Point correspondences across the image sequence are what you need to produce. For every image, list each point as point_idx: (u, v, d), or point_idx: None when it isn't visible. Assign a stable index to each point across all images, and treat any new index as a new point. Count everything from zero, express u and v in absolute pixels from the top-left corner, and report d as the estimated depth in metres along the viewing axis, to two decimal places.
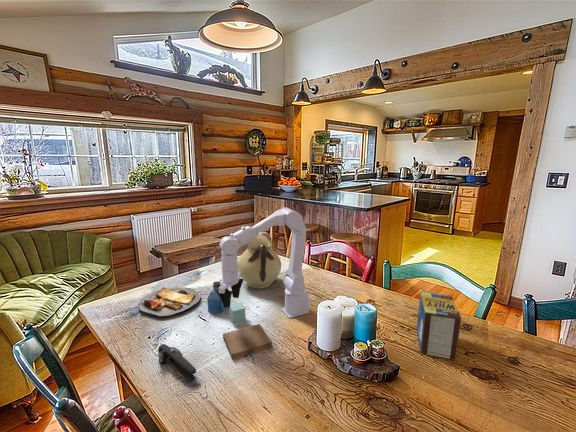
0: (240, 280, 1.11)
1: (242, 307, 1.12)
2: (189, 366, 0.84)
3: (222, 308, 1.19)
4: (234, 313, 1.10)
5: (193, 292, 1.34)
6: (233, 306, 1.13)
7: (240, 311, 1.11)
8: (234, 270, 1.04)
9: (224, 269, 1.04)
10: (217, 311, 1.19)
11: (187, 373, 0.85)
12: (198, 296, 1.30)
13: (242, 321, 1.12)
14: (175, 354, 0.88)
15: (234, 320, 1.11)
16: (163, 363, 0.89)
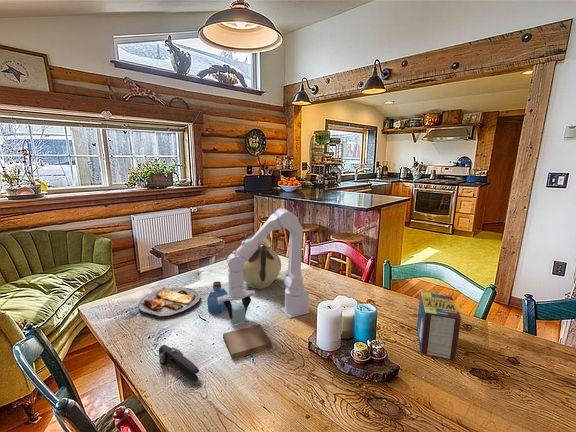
0: (249, 299, 1.13)
1: (242, 307, 1.12)
2: (192, 366, 0.84)
3: (222, 308, 1.19)
4: (234, 313, 1.10)
5: (193, 292, 1.34)
6: (233, 306, 1.13)
7: (240, 311, 1.11)
8: (234, 287, 1.08)
9: (230, 285, 1.09)
10: (217, 311, 1.19)
11: (190, 373, 0.85)
12: (198, 296, 1.30)
13: (242, 321, 1.12)
14: (177, 354, 0.88)
15: (234, 320, 1.11)
16: (164, 364, 0.89)
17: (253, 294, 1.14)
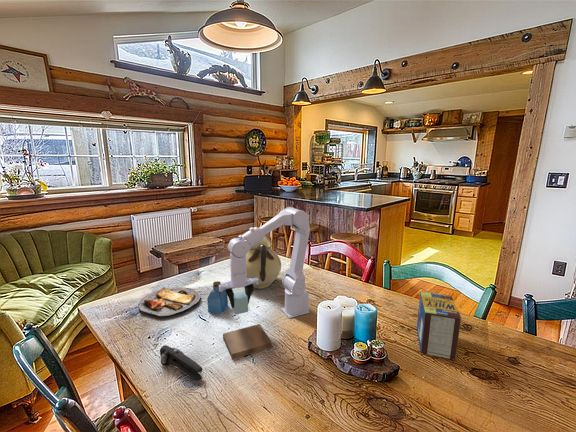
0: (252, 287, 1.06)
1: (244, 296, 1.06)
2: (195, 365, 0.85)
3: (222, 308, 1.19)
4: (236, 302, 1.04)
5: (193, 292, 1.34)
6: (235, 295, 1.07)
7: (243, 300, 1.05)
8: (236, 273, 1.02)
9: (234, 272, 1.02)
10: (217, 311, 1.19)
11: (193, 372, 0.85)
12: (198, 296, 1.30)
13: (244, 310, 1.06)
14: (179, 354, 0.88)
15: (236, 309, 1.05)
16: (166, 364, 0.89)
17: (256, 282, 1.08)
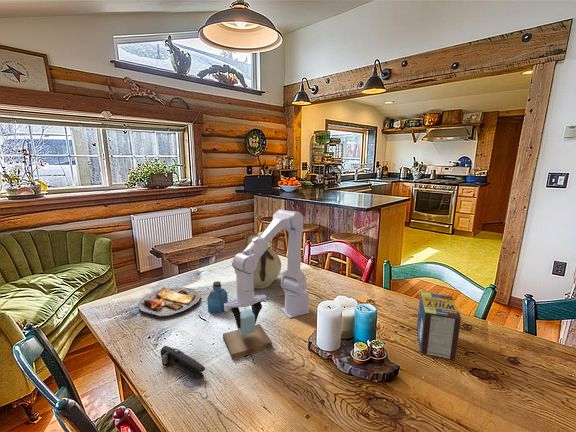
0: (260, 305, 0.98)
1: (251, 314, 0.98)
2: (197, 364, 0.85)
3: (222, 308, 1.19)
4: (242, 322, 0.96)
5: (193, 292, 1.34)
6: (241, 313, 0.99)
7: (250, 319, 0.97)
8: (243, 291, 0.93)
9: (243, 290, 0.93)
10: (217, 311, 1.19)
11: (195, 371, 0.85)
12: (198, 296, 1.30)
13: (251, 331, 0.98)
14: (180, 354, 0.88)
15: (242, 330, 0.96)
16: (167, 365, 0.89)
17: (264, 299, 0.99)
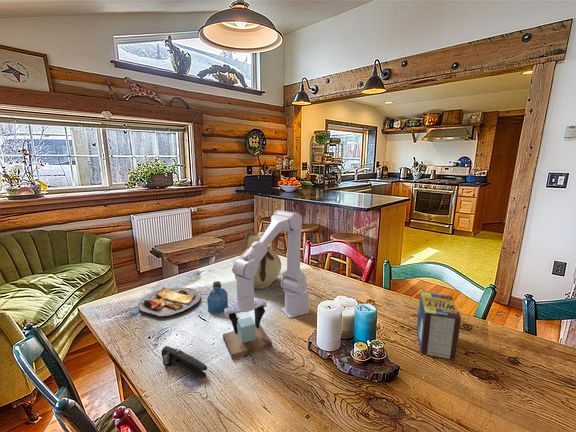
0: (260, 310, 0.98)
1: (252, 322, 0.99)
2: (200, 363, 0.85)
3: (222, 308, 1.19)
4: (243, 330, 0.97)
5: (193, 292, 1.34)
6: (242, 321, 0.99)
7: (250, 327, 0.98)
8: (243, 297, 0.94)
9: (243, 295, 0.94)
10: (217, 311, 1.19)
11: (198, 371, 0.85)
12: (198, 296, 1.30)
13: (252, 338, 0.99)
14: (182, 354, 0.88)
15: (243, 337, 0.97)
16: (169, 365, 0.89)
17: (264, 304, 1.00)
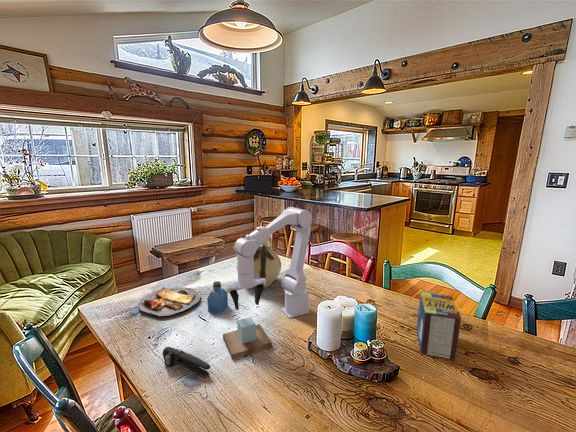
0: (260, 287, 1.04)
1: (252, 323, 0.99)
2: (203, 363, 0.86)
3: (222, 308, 1.19)
4: (243, 330, 0.96)
5: (193, 292, 1.34)
6: (242, 321, 0.99)
7: (250, 327, 0.97)
8: (244, 274, 0.99)
9: (242, 272, 0.99)
10: (217, 311, 1.19)
11: (200, 370, 0.86)
12: (198, 296, 1.30)
13: (252, 339, 0.99)
14: (184, 354, 0.88)
15: (243, 338, 0.97)
16: (171, 365, 0.88)
17: (264, 282, 1.05)
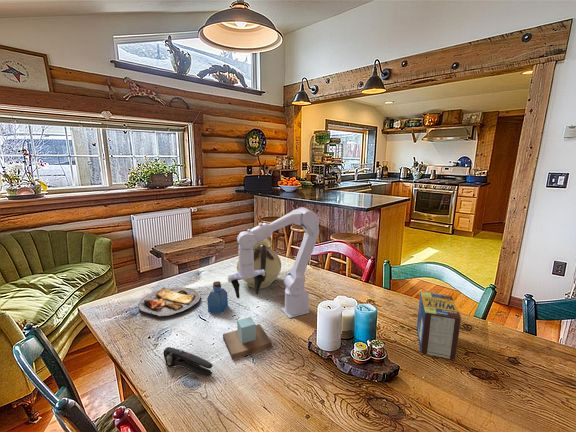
0: (259, 278, 1.12)
1: (252, 323, 0.99)
2: (205, 362, 0.86)
3: (222, 308, 1.19)
4: (243, 330, 0.96)
5: (193, 292, 1.34)
6: (242, 321, 0.99)
7: (250, 327, 0.97)
8: (245, 265, 1.07)
9: (241, 263, 1.08)
10: (217, 311, 1.19)
11: (203, 369, 0.86)
12: (198, 296, 1.30)
13: (252, 339, 0.99)
14: (186, 354, 0.88)
15: (243, 338, 0.97)
16: (172, 365, 0.88)
17: (263, 273, 1.13)
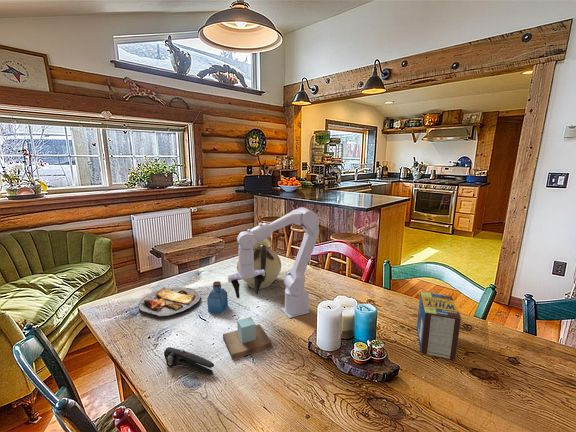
0: (259, 278, 1.12)
1: (252, 323, 0.99)
2: (206, 361, 0.86)
3: (222, 308, 1.19)
4: (243, 330, 0.96)
5: (193, 292, 1.34)
6: (242, 321, 0.99)
7: (250, 327, 0.98)
8: (245, 265, 1.07)
9: (241, 263, 1.08)
10: (217, 311, 1.19)
11: (204, 368, 0.86)
12: (198, 296, 1.30)
13: (252, 339, 0.99)
14: (187, 353, 0.88)
15: (243, 338, 0.97)
16: (173, 365, 0.88)
17: (263, 273, 1.13)
